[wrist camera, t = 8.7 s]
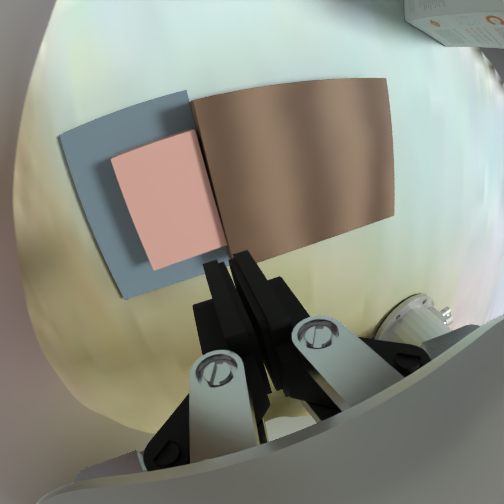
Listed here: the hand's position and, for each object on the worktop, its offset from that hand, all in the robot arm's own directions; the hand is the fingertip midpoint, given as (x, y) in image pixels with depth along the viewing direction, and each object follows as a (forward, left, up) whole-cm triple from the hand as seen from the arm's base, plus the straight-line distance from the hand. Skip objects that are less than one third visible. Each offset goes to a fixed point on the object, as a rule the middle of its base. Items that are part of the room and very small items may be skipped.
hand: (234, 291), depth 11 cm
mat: (+3, 0, -14) cm, 14 cm away
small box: (-30, -16, -14) cm, 36 cm away
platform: (-10, 0, -14) cm, 17 cm away
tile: (+2, 0, -12) cm, 12 cm away
